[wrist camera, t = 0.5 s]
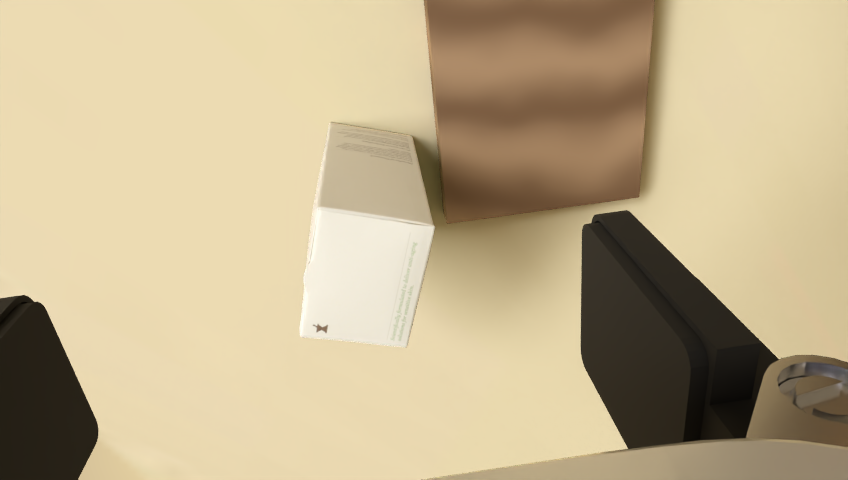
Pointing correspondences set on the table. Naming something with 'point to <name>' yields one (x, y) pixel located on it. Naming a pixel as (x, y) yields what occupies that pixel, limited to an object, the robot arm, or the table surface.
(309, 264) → the skincare box
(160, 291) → the table surface
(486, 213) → the walnut board
